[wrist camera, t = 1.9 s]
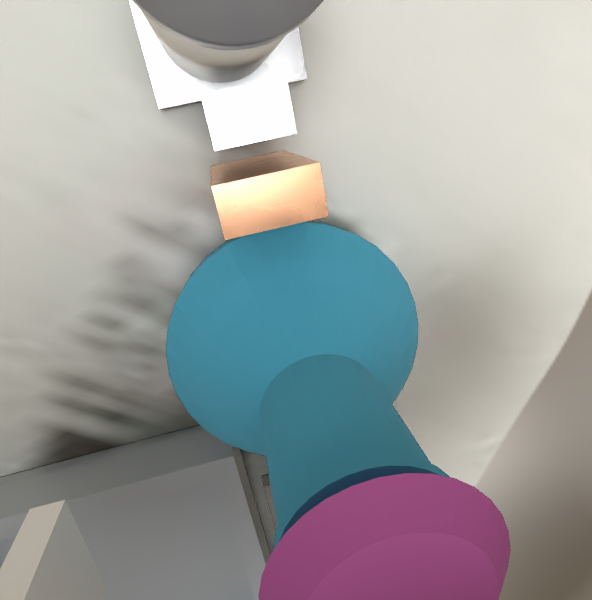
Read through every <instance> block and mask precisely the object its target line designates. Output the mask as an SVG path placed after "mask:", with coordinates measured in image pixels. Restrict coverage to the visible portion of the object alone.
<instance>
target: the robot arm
mask: <svg viewBox="0 0 592 600" xmlns="http://www.w3.org/2000/svg"><path fill="white" fill-rule="evenodd" d="M106 589H107V588H106V586H105V583H104V581H103V579H102V577H101V575H100V573H99V571H98V569H97V566H96V564H95V562H94V560H93V558H92V556H91V554H90V552H89V549H88V547H87V545H86V543H85V541H84V539H83V537H82V535H81V532H80V530H79V528H78V526H77V524H76V522H75V520H74V518H73V515H72V513H71V511H70V509H69V507H68V505H67V503H66V501H65V500H62V501H58V502H54V503H51V504H47V505H43V506H39V507H35V508H31V509H30V510H29V512H28V514H27V516H26V518H25V520H24V522H23V524H22V526H21V528H20V530H19V532H18V534H17V536H16V538H15V540H14V542H13V544H12V546H11V548H10V550H9V552H8V554H7V556H6V558H5V560H4V562H3V564H2V566H1V568H0V600H104V598H105V593H106Z"/></svg>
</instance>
